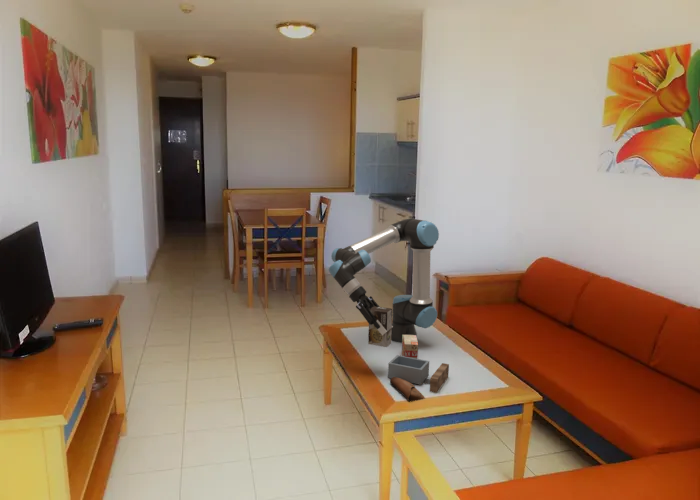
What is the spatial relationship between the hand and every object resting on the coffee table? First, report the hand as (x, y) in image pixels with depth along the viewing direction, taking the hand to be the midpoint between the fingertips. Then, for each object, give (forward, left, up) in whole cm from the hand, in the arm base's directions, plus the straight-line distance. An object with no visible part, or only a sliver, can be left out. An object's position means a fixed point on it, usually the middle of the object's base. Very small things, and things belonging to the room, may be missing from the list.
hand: (387, 331), depth 240 cm
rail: (0, +13, -20) cm, 24 cm away
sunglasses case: (+13, +15, -20) cm, 28 cm away
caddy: (0, +11, -20) cm, 22 cm away
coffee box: (0, -4, -7) cm, 8 cm away
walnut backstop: (0, +24, -20) cm, 31 cm away
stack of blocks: (-19, +4, -20) cm, 28 cm away
